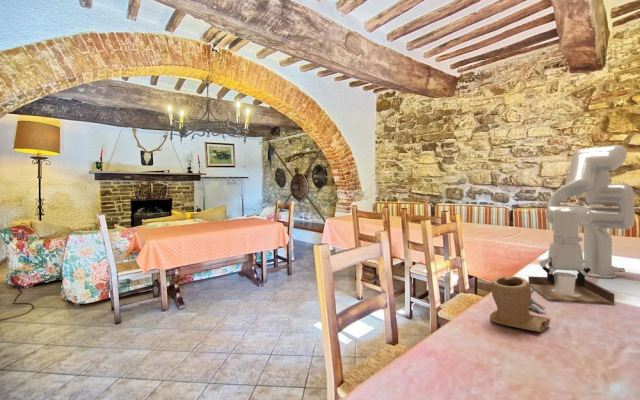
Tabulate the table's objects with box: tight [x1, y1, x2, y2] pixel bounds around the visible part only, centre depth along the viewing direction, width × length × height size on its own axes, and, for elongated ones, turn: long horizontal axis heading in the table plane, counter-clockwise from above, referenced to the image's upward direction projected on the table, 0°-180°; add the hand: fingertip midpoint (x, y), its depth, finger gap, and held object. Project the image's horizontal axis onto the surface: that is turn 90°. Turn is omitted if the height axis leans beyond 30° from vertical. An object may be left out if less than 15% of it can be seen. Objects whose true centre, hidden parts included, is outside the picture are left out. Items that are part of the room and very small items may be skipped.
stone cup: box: [489, 275, 551, 333], centre depth 93 cm, size 15×12×15 cm
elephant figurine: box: [529, 288, 546, 314], centre depth 105 cm, size 10×6×9 cm
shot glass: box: [553, 271, 577, 295], centre depth 117 cm, size 7×7×7 cm
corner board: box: [528, 276, 615, 306], centre depth 118 cm, size 20×18×4 cm
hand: (565, 284), depth 117 cm, fingers open, 9 cm apart
